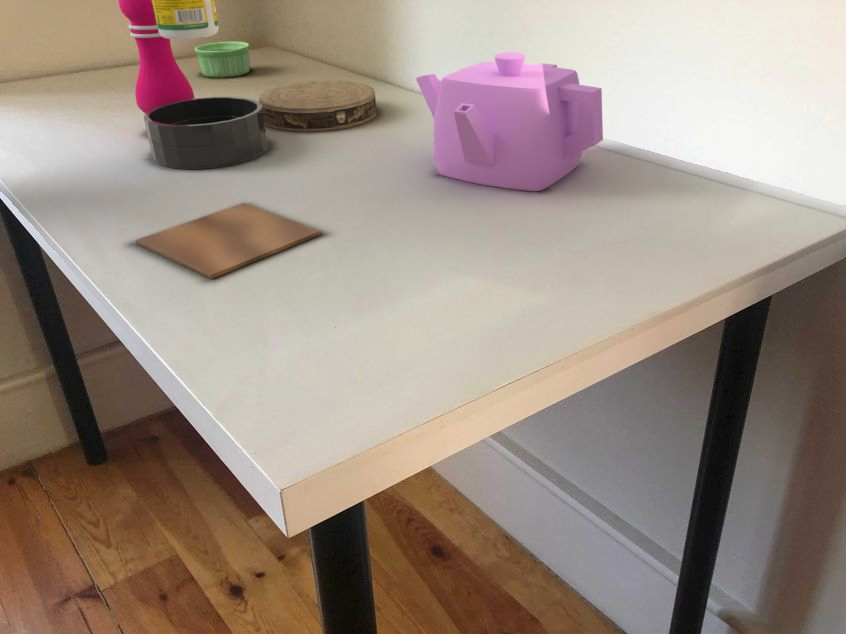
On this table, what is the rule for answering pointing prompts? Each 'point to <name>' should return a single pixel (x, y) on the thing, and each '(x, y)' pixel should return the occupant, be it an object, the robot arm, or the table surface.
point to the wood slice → (318, 106)
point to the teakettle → (511, 122)
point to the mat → (227, 239)
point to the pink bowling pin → (154, 59)
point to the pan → (206, 132)
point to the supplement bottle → (185, 18)
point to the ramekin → (223, 59)
